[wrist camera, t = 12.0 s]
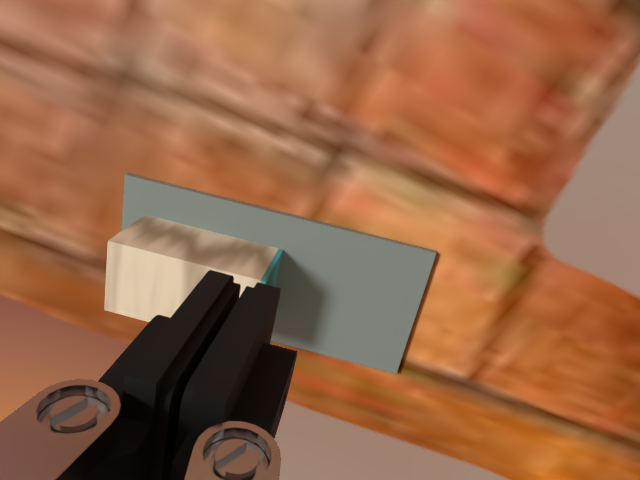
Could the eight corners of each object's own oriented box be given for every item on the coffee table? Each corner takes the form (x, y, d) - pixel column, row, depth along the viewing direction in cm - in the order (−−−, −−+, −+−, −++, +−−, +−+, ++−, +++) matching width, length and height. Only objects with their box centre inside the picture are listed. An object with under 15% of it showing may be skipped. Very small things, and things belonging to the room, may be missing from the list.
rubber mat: (436, 250, 41) (436, 253, 41) (396, 370, 46) (396, 374, 45) (127, 173, 43) (124, 174, 42) (119, 297, 47) (117, 299, 47)
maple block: (265, 281, 37) (107, 240, 38) (252, 349, 39) (104, 310, 40) (283, 249, 43) (145, 214, 43) (270, 310, 45) (140, 276, 46)
